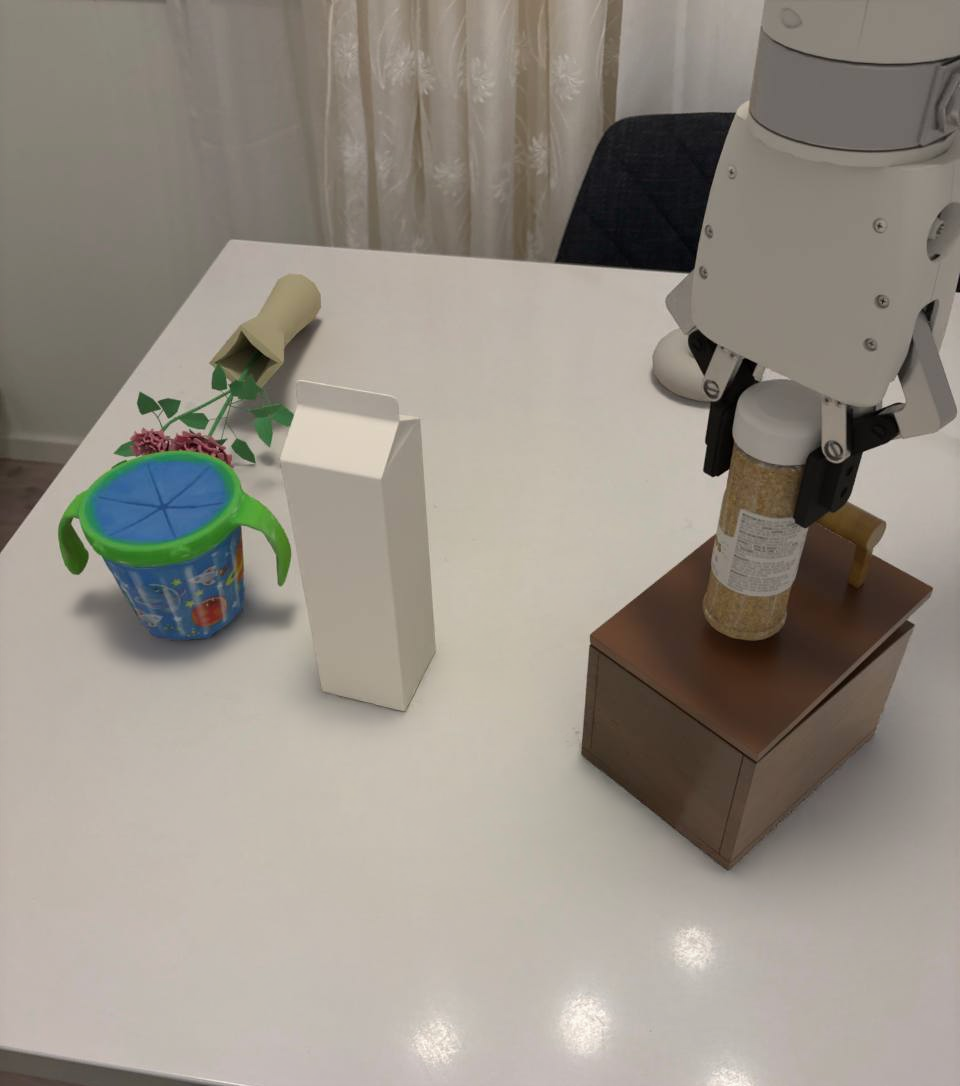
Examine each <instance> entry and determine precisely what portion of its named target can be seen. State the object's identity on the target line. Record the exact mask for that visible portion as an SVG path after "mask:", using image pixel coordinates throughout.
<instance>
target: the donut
mask: <svg viewBox="0 0 960 1086" xmlns="http://www.w3.org/2000/svg"><path fill="white" fill-rule="evenodd" d="M651 359H652V370H653V373H654V375H655V377H656V378H657V380H658V381H659V383H660V384H661V385H662V386H664V388H666V389H667V390H669V391H670V392H672V393H673V394H676V395H678V396H680V397H683V398H685V399H688V400H694V401H699V402H710V403H711V401H710V400H708V399H707V398H706V397H705V396H704V394H703V392H702V389H701V384H702V381H703V378H704V375H703V373H702V372H701V370H700V368H699V366H698V364H697V362H696V360H695V358H694V356H693V354H692V352H691V350H690V348H689V346H688V336H687V334H686V335H684V334H683V332H682V330H681V329H680V327H678V328H676V329H673V330H672V331H670V332H668V333H667V334H666V335H664V336H663V337H661V339H660V340H659V341H658V342H657V344H656V346H655V348H654V350H653V352H652V355H651ZM766 369H767V368H766V367H764V366H761V368H760V370H759V372H758V374H757V376H756V377H755V380H757V381H759V382H762V381H761V380H762V378H763V375H764V373H765V370H766Z"/></svg>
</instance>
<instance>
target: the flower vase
mask: <svg viewBox="0 0 960 1086" xmlns="http://www.w3.org/2000/svg"><path fill="white" fill-rule="evenodd" d="M321 309H322V295H321V293H320V291H319V289H318V287H317V286H316V283H315V282H314V281H312V280H311V279H309V278H308V277H306V276H305V275H303V274H298V273H288V274H285V275H284V276H282V277H280V278H278V279H277V280H276V282H275V284H274V286H273V288H272V290H271V291H270V293H269V295H268V297H267V298H266V300H265V302H264V304H263V305H262V307H261V309H260V311H259V312H258V314H257V315H256V316H254V317H252V318H250V319H249V320H247V321H245V322H243V323H241V324H239V326H238V327H237V328H236V330H234V332H233V333H232V334H231V336H230V337H229V338H228V339H227V340H226V341H225V343H224V344H223V346H222V347H220V349H219V350H218V351H217V352H216V354H215V355H214V356H213V357H212V359H210V361H209V362H208V364H210V365H211V366H212V367H213V368H214V369H213V372H212V375H211V383H210V384H211V389H212V390H215V391H217V392H221V394H219V395H217V396H216V397H213V398H211V399H210V400H208V401H206V402H204V403H202V404H200V405H199V406H196V407H194V408H192V409H190V410H188V411H185V412H183V413H181V414H178V415H177V416H175V415H176V414H177V413H178V410H179V409H180V405H181V403H182V400H181V399H176V398H170V397H166V398H163V399H159V400H158V401H156V400H155V399H154V398H153V397H151V396H149V395H147V394H145V393H144V392H142V391H139V392H138V396H137V401H136V406H137V408H138V411H139V413H140V415H141V416H144V415H147V414H149V413H153V415H154V416H155V417H156V419H157V420H158V422H159V426H160V428H161V429H159V430H154V429H155V428H151V429H150V430H147V429H146V428H145V427H142V428H141V429H140V432H137V431H136V430H135V431H134V432H133V435H132V436H131V437H130V438H129V441H127V442H124V443H122V444H121V445H119V447H118V448H117V449H116V450H115V451H114V452H113V453H112V455H117V456H119V457H120V456H121V457H125V458H128V457H130V458H131V457H135V458H137V457H141V456H144V455H148V454H153V453H158V452H166V451H193V452H199V453H204V454H208V455H210V456H213V457H216V458H218V459H220V460H222V461H223V462H225V463H226V464H228V465H229V466H230V467H231V468H232V469H234V468H235V466H234V464H232V461H233V454H232V453H229V454H227V452H226V450H227V446H225V445H224V444H225V443H226V442H227V441H228V438H223V437H224V434H225V433H224V432H225V429H226V425H227V427H228V428H229V430H230V431H231V432H232V434H233V435H234V437H235V440H234V441H233V443H231V445H230V447H231V449H232V450H233V452H234V453H235V454H236V455H238V456H239V457H240V458H241V459H242V460H244V461H247V462H250V463H252V464H255V465H256V464H257V462H256V456H255V453H254V452H253V451H252V450H251V448H250V447H249V445H248V443H247V442H246V441H245V440H242V439H240V438H238V437H237V435H236V434H235V432H234V430H232V429H231V427H230V425H229V423H228V422H227V420H228V417H229V413H230V410H231V408H235V409H241V410H246V411H249V412H250V413H251V414H252V415H254V416H255V417H257V418H255V419H254V420H253V424H254V429H255V431H256V434H257V436H258V438H259V439H260V440H261V441H262V442H263V443H264V444H265V445H266V446H267V447H268V448H269V449H271V445H272V441H273V436H274V433H273V424H272V421H274V422H275V423H276V424H279V425H282V426H284V427H287V428H288V427H289V428H290V426H291V423H292V420H293V417H294V414H295V413H293V412H292V411H290V410H289V409H288V408H287V407H286V406H284V405H283V402H278V403H273V404H271V403H272V402H270V399H269V397H268V394H267V393H266V391H265V389H263V387H264V386H265V385H266V384H267V383H268V381H269V380H270V379H271V378H272V377H273V376H274V375H275V373H276V372H277V371H278V370H279V369H280V368H281V367H282V365H283V364H284V363H285V361H284V360H285V348H286V346H287V345H288V344H289V343H290V342H291V340H293V338H294V337H295V336H296V335H297V334H298V333H299V332H301V331H302V330H303V329H304V328H305V327H306V326H308V325H310V324H311V322H313V321H314V320H315V319H316V318H317V315H318V314H319V312H320V310H321ZM227 380H228V381H229V382H230V383H228V381H227ZM228 388H229V389H228ZM224 391H225V392H224ZM263 393H264V394H263ZM258 394H261V398H262V406H261V407H258V408H246V407H239V406H234V404H236V403H239V402H241V401H256V400H257V395H258ZM228 395H229V396H228ZM263 395H265V397H266V399H267V401H268V403H269V404H267V405H265V402H264V396H263ZM224 397H226V400H225V402H224V403H223V405H222V407H221V409H220V410H219V413H218V415H217V417H216V418H211V419H209V418H208V417H207V416H206V414H205V413H204V412H198V411H200V410H201V409H204V408H205V407H207V406H209V405H211V404H213V403H214V402H217V401H219V400H220V399H222V398H224ZM234 397H237V398H238V400H236V401H234V402H233V400H234ZM227 409H228V410H227ZM226 410H227V414H226V416H224V414H225V412H226ZM157 411H160V412H159V414H158V415H157V413H156V412H157ZM163 412H164V414H165V416H166V418H167V419H168V420H169V419H170V420H169V421H167V423H165V424H164V425H163V424H162V421H161V420H160V418H159V417H160V416H161V415H162V413H163ZM270 415H271V416H270ZM223 416H224V417H223ZM171 418H172V419H171ZM223 419H224V421H225V422H224V425H223V429H222V433H221V438H220V439H215V437H213V435H214V433H215V430H216V429H217V427H218V425H219V423H220V421H221V420H223ZM213 420H214V422H213V424H212V426H211V428H210V430H209V432H208V434H207V435H205V434H202V433H201V432H200V431H199V432H196V433H195V431H193V430H192V428H193V429H196V430H203V431H204V430H206V428H207V426H208V425H209V422H210V421H213ZM177 421H180V422H182V423H183V424H184V425H185V426H187V427H188V431H187V430H182V431H181V433H182V434H179V432H176V433H175V437H174V438H172V437H171V435H165V432H166V430H167V429H168V428H169V427H170V425H172V424H173V423H175V422H177ZM127 461H128V460H127V459H124V460H121V461H119V462H118V463H116V464H115V465H113V466H111V469H112V468H114V467H116V466H118V465H120V464H122V463H124V462H127ZM111 469H110V470H111Z"/></svg>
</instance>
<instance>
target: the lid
mask: <svg viewBox="0 0 960 1086" xmlns="http://www.w3.org/2000/svg"><path fill="white" fill-rule="evenodd" d="M886 529H887V522H886V520H883V518H881V517H879V516H876V515H875V514H873V513H871V512H870V511H867V510H865V509H863V508H862V507H859V506H858V505H855V504H853V503H852V502H849V500H848V501H847V502H846V504H845V505H844V506H843V507H842V508H840V509H839V510H838V511H836V512H835V513H832V512H830V511H829V512H828V513H826V514H825V515H824V516H822V517H821V518H820V519H818V520H817V521H816V522H814V523H813V524H811V525H810V526H809V527H808V531H807V535H806V539H805V543H804V547H803V551H802V555H801V558H800V562H799V566H798V570H797V574H796V578H795V580H794V582H793V583H792V586H791V590H790V593H789V599H788V603H787V616H786V621H785V624H784V625H783V627H782V628H781V629H780V630H779V631H778V632H777V633H775V634H774V635H772V636H770V637H768V638H765V639H762V640H754V641H753V640H743V639H735V638H731V637H729V636H727V635H724V634H722V633H720V632H719V631H717V630H716V629H714V628H713V627H712V626H711V625H710V623H709V622H708V621H707V620H706V618H705V615H704V612H703V599H704V596H705V594H706V592H707V588H708V584H709V578H710V572H711V568H712V567H711V559H712V554H713V548H714V543H715V538H716V533H714V534H713V535H712V536H711V537H709V538H708V539H707V540H706V541H704V542H703V543H702V544H700V546H698V547H697V548H696V549H695V550H693V551H692V552H690V554H688V555H687V556H686V557H684V558H683V559H682V560H681V561H680V562H678V563H677V564H676V565H674V566H673V567H672V568H671V569H669V570H668V571H667V572H666V573H665V574H663V575H662V576H661V577H659V579H657V580H656V581H654V582H653V583H652V584H651V585H649V586H648V587H647V588H646V589H644V590H643V591H642V592H641V593H640V594H638V595H636V597H634V598H633V599H632V600H631V601H630V602H628V603H627V604H626V605H625V606H624V607H622V608H621V609H619V610H618V611H617V612H616V613H615V614H614V615H612V616H611V617H610V618H609V619H607V620H605V622H603V623H602V624H601V625H599V627H597V628H596V629H595V630H593V631H592V632H591V633H590V634H589V644H592V645H593V646H594V647H596V648H597V649H599V650H600V651H601V652H603V653H604V654H606V655H607V656H608V657H610V658H611V659H613V660H614V661H615V662H617V663H618V664H620V665H621V666H622V667H624V668H625V669H627V670H628V671H629V672H631V673H632V674H634V675H635V676H636V677H638V678H639V679H641V680H642V681H643V682H645V683H646V684H648V685H649V686H650V687H652V688H653V689H655V690H656V691H657V692H659V693H660V694H662V695H663V696H664V697H666V698H667V699H669V700H670V701H671V702H673V703H674V704H676V705H677V706H678V707H680V708H681V709H683V710H684V711H685V712H687V713H688V714H690V715H691V716H692V717H694V718H695V719H697V720H698V721H699V722H701V723H702V724H704V725H705V726H706V727H708V728H709V729H711V730H712V731H713V732H715V733H716V734H718V735H719V736H720V737H722V738H723V739H725V740H726V741H727V742H729V743H730V744H732V745H733V746H734V747H736V748H737V749H739V750H740V751H741V752H743V753H744V754H746V755H747V756H748V757H750V758H751V759H753V760H754V761H755V762H757V761H758V760H759V759H761V758H762V757H763V756H764V755H765V754H766V753H767V752H768V751H769V750H770V749H771V748H772V747H773V746H774V745H775V744H776V743H777V742H778V741H779V740H781V739H782V738H783V737H784V736H785V735H786V734H787V733H788V732H789V731H790V730H791V729H792V728H793V727H794V726H795V725H796V724H797V723H798V722H799V721H801V720H802V719H803V718H804V717H805V716H806V715H807V714H808V713H809V712H810V711H811V710H812V709H813V708H814V707H815V706H816V705H817V704H818V703H819V702H821V701H822V700H823V699H824V698H825V697H826V696H827V695H828V694H829V693H830V692H831V691H832V690H833V689H834V688H835V687H836V686H837V685H838V684H840V683H841V682H842V681H843V680H844V679H845V678H846V677H847V676H848V675H849V674H850V673H851V672H852V671H853V670H854V669H855V668H856V667H857V666H858V665H860V664H861V663H862V662H863V661H864V660H865V659H866V658H867V657H868V656H869V655H870V654H871V653H872V652H873V651H874V650H875V649H876V648H877V647H878V646H880V645H881V644H882V643H883V642H884V641H885V640H886V639H887V638H888V637H889V636H890V635H891V634H892V633H893V632H894V631H895V630H896V629H897V628H898V627H900V626H901V625H902V624H903V623H904V622H905V621H906V620H908V619H909V618H910V617H911V616H912V615H914V614H915V612H917V610H919V609H920V608H921V607H922V606H923V605H924V604H925V603H926V602H927V601H928V600H929V599H931V597H932V594H933V591H934V587H933V586H931V585H930V584H928V583H925V582H924V581H923V580H920V579H919V578H917V577H915V576H913V575H911V574H910V573H907V572H906V571H904V570H902V569H901V568H899V567H896V565H895V566H894V564H891V563H889V562H888V561H885V560H884V559H882V558H881V557H878V556H877V555H875V554H873V552H874V548H875V547H876V546H877V545H878V544H879V543H880V541H881V540H882V539H883V536H884V535H885V532H886Z"/></svg>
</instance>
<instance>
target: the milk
mask: <svg viewBox="0 0 960 1086" xmlns="http://www.w3.org/2000/svg"><path fill="white" fill-rule="evenodd" d="M294 389H295V395H296V401H297V405H296V408H295V411H294V413H293V414H294V417H293V420H292V423H291V426H290V427H289V429H288V432H287V435H286V438H285V441H284V445H283V448H282V451H281V453H280V457H279V463H280V468H281V474H282V479H283V485H284V491H285V497H286V501H287V507H288V512H289V518H290V523H291V529H292V535H293V540H294V545H295V551H296V557H297V561H298V566H299V572H300V578H301V583H302V588H303V594H304V599H305V605H306V609H307V616H308V621H309V626H310V627H309V628H310V633H311V638H312V643H313V649H314V654H315V659H316V664H317V670H318V675H319V681H320V686H321V691H322V692H323V693H326V694H330V695H335V696H338V697H339V696H340V697H343V698H347V699H351V700H354V701H355V700H356V701H360V702H362V703H363V702H364V703H368V704H371V705H376V706H380V707H384V708H389V709H392V710H397V711H401V712H406V711H407V709H408V706H409V704H410V703H411V701H412V699H413V696H414V695H415V692H416V690H417V688H418V686H419V685H420V683H421V681H422V679H423V677H424V675H425V672H426V670H427V668H428V666H429V664H430V662H431V660H432V658H433V656H434V655H435V652H436V650H437V649H436V633H435V631H436V630H435V619H434V617H435V616H434V602H433V589H432V588H433V586H432V573H431V572H432V571H431V560H430V558H431V557H430V543H429V532H428V529H429V528H428V527H429V526H428V515H427V498H426V485H425V470H424V457H423V455H424V454H423V453H424V452H423V442H422V441H423V440H422V427H421V426H422V425H421V418H420V417H417V416H412V415H405V414H401V413H400V407H399V401H398V399H397V398H396V397H395V396H394V395H393V394H386V393H379V392H375V391H368V390H363V389H358V388H357V389H356V388H350V387H345V386H340V385H335V384H329V383H328V384H327V383H322V382H316V381H310V380H304V379H298V380H296V381H295V383H294Z"/></svg>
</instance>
